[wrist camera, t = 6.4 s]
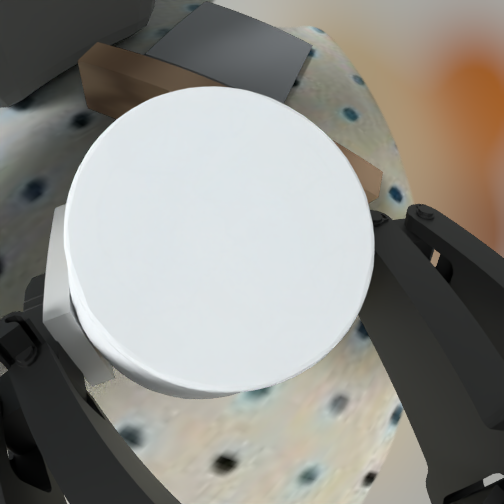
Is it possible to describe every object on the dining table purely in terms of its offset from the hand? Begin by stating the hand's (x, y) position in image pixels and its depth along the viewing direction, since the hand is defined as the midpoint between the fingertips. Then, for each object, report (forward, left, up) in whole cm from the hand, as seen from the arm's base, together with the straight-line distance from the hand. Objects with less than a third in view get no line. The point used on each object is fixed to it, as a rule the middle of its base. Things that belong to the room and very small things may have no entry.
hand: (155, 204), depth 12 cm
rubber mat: (-2, +18, -6) cm, 20 cm away
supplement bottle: (+2, -3, -4) cm, 6 cm away
